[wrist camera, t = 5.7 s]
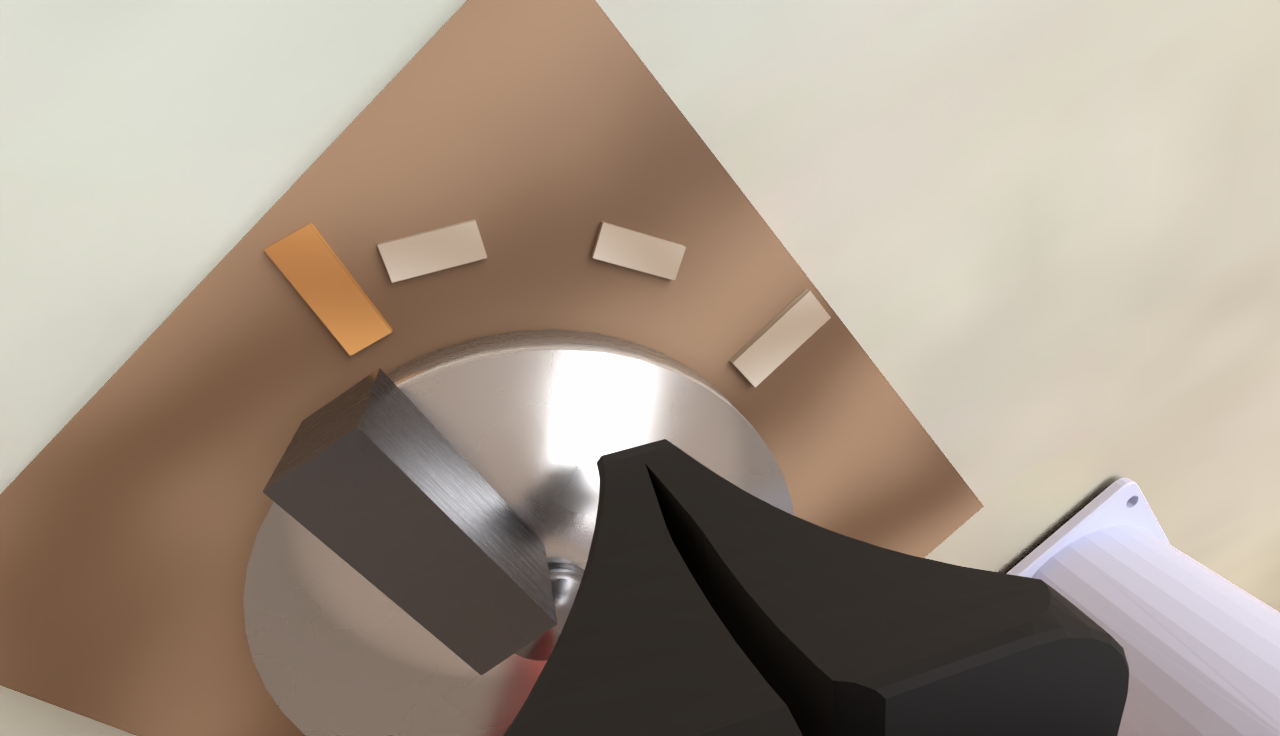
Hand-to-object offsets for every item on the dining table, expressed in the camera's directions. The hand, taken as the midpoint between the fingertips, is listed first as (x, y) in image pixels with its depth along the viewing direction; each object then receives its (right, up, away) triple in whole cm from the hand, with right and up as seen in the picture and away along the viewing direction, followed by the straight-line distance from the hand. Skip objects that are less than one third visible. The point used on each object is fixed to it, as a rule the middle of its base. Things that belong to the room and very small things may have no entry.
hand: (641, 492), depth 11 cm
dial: (-3, -3, +5) cm, 6 cm away
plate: (-3, -2, +6) cm, 7 cm away
